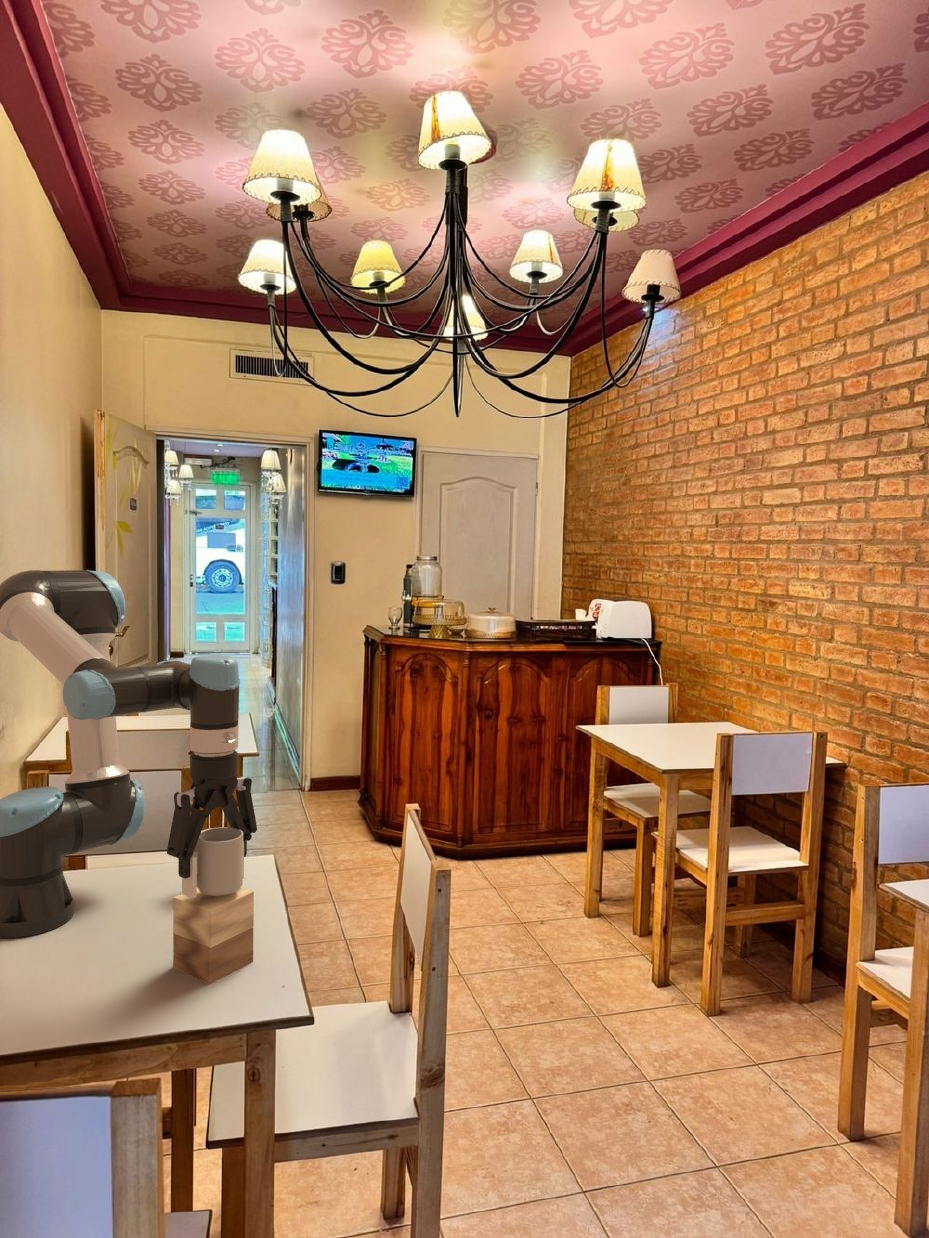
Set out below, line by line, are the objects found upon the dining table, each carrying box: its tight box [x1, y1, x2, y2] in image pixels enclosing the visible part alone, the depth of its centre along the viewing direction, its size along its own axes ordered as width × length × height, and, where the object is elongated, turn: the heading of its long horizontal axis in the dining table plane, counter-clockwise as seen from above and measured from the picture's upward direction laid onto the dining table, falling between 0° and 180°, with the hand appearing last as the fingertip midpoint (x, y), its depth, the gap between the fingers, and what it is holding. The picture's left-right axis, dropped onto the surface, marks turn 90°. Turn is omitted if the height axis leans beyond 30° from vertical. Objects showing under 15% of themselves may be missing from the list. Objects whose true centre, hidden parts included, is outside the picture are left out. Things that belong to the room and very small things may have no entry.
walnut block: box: [172, 927, 254, 985], centre depth 134 cm, size 9×9×6 cm
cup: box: [193, 826, 244, 896], centre depth 132 cm, size 7×10×9 cm
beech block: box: [172, 887, 255, 948], centre depth 133 cm, size 9×9×6 cm
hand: (213, 886), depth 133 cm, fingers closed on cup, 9 cm apart
